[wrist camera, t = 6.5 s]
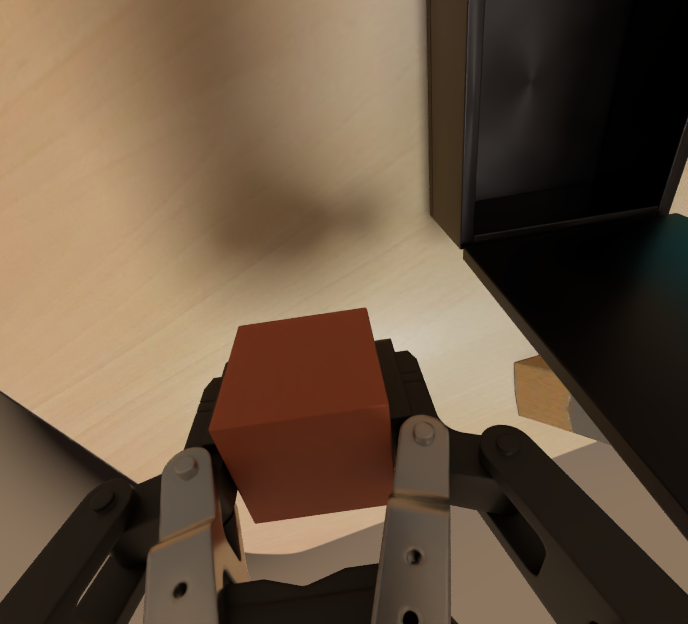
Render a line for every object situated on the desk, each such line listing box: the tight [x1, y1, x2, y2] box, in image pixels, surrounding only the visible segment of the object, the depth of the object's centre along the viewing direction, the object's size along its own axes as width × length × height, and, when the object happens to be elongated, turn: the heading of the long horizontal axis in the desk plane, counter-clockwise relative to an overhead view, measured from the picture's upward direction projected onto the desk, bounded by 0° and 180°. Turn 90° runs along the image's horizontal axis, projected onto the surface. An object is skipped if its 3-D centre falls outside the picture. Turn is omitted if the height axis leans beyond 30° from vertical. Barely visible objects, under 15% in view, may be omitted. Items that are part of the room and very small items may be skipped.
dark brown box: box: [427, 0, 688, 249], centre depth 21 cm, size 16×13×7 cm
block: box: [209, 308, 395, 524], centre depth 12 cm, size 4×4×4 cm
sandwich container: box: [514, 355, 611, 445], centre depth 32 cm, size 9×15×15 cm, turn 108°
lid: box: [463, 213, 688, 541], centre depth 15 cm, size 16×13×1 cm
